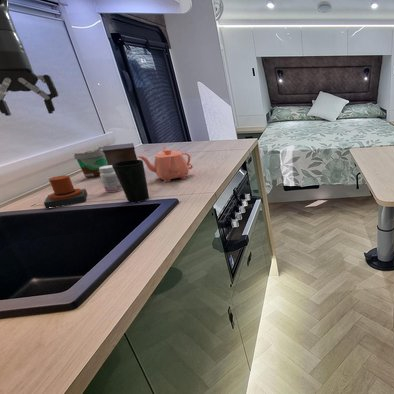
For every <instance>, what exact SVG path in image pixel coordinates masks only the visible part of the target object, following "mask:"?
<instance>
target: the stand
mask: <svg viewBox="0 0 394 394" xmlns="http://www.w3.org/2000/svg"><path fill="white" fill-rule="evenodd" d="M80 189H81V190H82V193H81V194H80V195H77V196H75V197H71V198H67V199H61V200H51V199H50V198H49V195H50V194H48V195H47V197H46V198H45V200H44V201H43V205H44V207H45V209H46V208H49V207H55V208H57V207H56V206H60V207H63V206H62V205H65V206H70V205H75V204H80V203H86V202H87V198H88V192H87V189H86V188H80ZM49 209H50V208H49Z"/></svg>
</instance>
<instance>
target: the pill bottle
mask: <svg viewBox="0 0 394 394" xmlns="http://www.w3.org/2000/svg"><path fill="white" fill-rule="evenodd" d="M99 170H100V172H101V174H100V179H101V182H102V185H103V189H104V191H105V192H106V193H116V192H120V191H123V189H122V186H121V184H120V182H119V180H118V178H117V176H116V173H115V171H114V169H113V167H112V165H108V166H102V167H100V168H99Z"/></svg>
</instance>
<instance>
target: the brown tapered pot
mask: <svg viewBox="0 0 394 394" xmlns="http://www.w3.org/2000/svg"><path fill="white" fill-rule="evenodd" d="M102 147H103V153H104V154H105V157H106V160H107V163H108V165H113V164H114V163H117V162H121V161H127V160H138V157H137V154H136V149H135V148H136V147H135V145H134V143H133V142H130V143H122V144H121V143H120V144H111V145H103V146H102Z"/></svg>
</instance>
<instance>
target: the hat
mask: <svg viewBox="0 0 394 394" xmlns="http://www.w3.org/2000/svg"><path fill="white" fill-rule="evenodd" d="M48 181H49V184H50V186H51V189H52V191H53V192H52V193H50V194H48V195H49V198H50V199H51V200H61V199H67V198H71V197H75V196H77V195H80V194H81V193H82V190H81V189H82V188H75V187H74V185H73V182H72V180H71V177H70V175H58V176H57V175H56V176H53V177H50V178H48Z"/></svg>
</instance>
